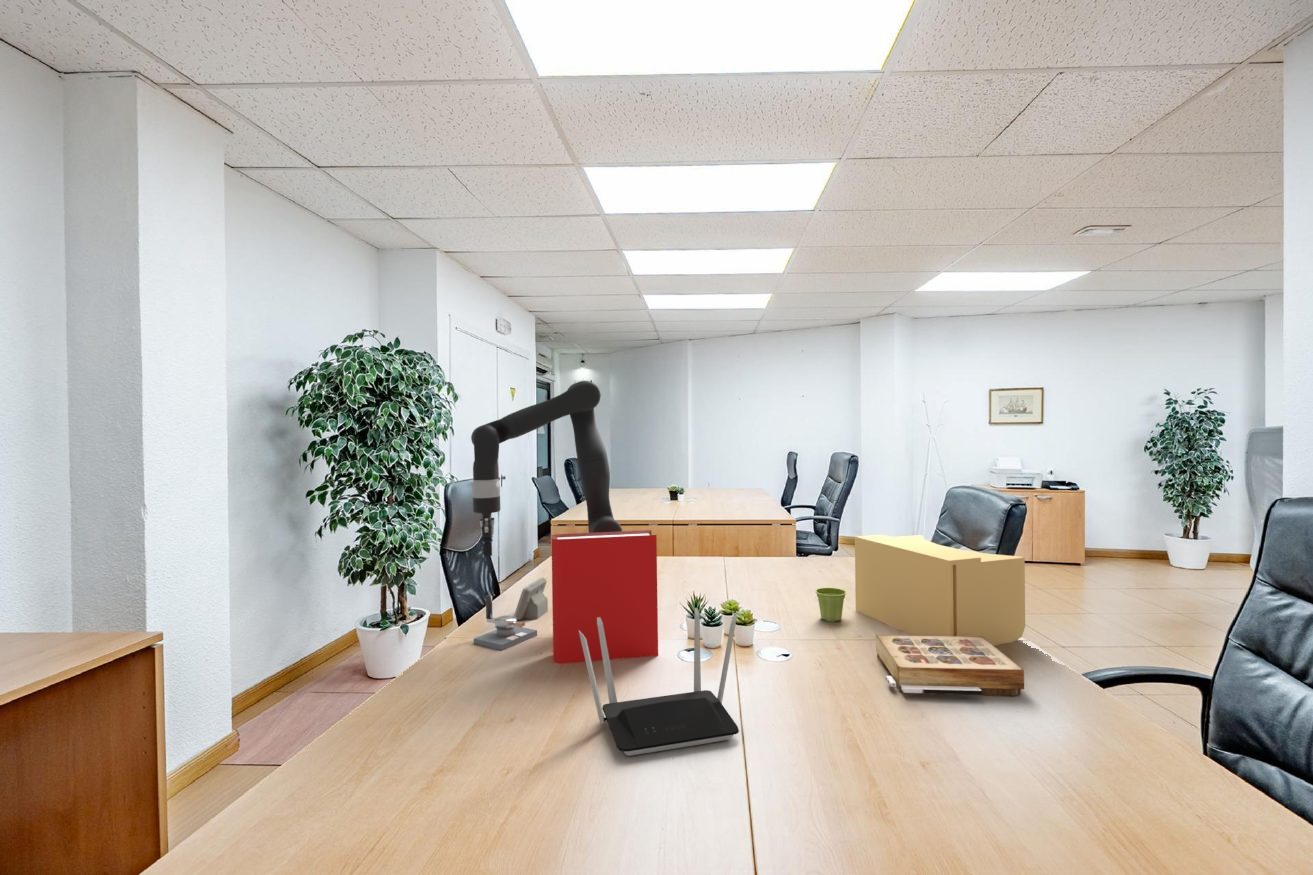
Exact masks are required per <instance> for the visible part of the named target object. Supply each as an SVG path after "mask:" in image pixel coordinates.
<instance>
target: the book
mask: <svg viewBox="0 0 1313 875" xmlns="http://www.w3.org/2000/svg"><path fill="white" fill-rule="evenodd" d="M657 540H658V539H657V534H652V530H651V529H649V530H648V529H646V530H645V529H644V530H625V531H624V530H622V531H620V532H597V533H589V532H581V533H580V532H576V533H556V534H551V587H552V588H551V589H552V590H551V594H552V596H551V598H552V599H551V600H552V601H551V602H552V604H551V605H552V653H553V654H552V655H553V656H552V657H553V663H554V664H558V665H563V664H572V663H573V664H574V663H586V660H585V656H584V652H583V647H582V643H581V639H580V634H579V631H580V632H581V633H582V634H583V635H584V637H585V638H586V640H587V645H588V649H589V653H590V658H591V662H599V661H603V658H602V651H601V645H600V638H599V631H598V625H597V618H598V617H600V618H601V620H602V622H603V628H604V633H605V638H606V644H607V649H608V655H609V660H610V661H611V660H623V659H625V660H626V659H635V658H636V659H637V658H647V657H658V656H659V624H658V623H659V616H658V612H659V610H658V607H659V606H658V605H659V604H658V556H657V555H658V554H657V552H658V549H657V546H658V545H657V544H658V542H657Z"/></svg>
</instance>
